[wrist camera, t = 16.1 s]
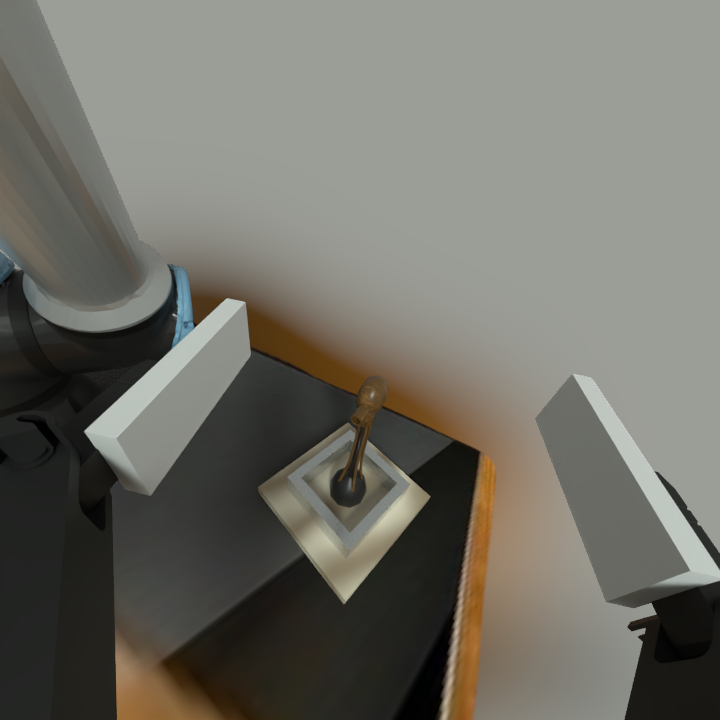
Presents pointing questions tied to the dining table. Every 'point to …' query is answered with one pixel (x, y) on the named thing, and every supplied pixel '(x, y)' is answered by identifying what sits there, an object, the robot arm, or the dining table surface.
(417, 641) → the dining table surface
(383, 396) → the wooden tabletop sculpture
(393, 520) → the stand
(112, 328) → the robot arm
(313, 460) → the collar
